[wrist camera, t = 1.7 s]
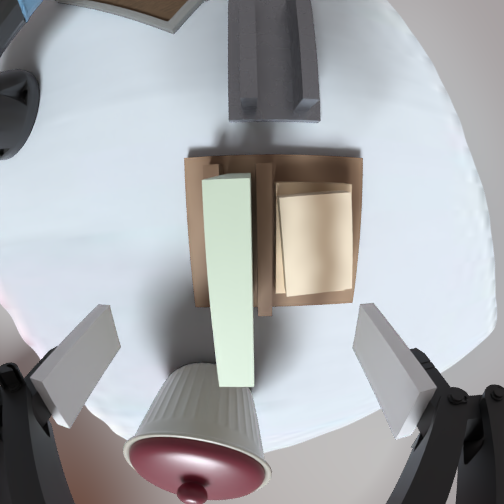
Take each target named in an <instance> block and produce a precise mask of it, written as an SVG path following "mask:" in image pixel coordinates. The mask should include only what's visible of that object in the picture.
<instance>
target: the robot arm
mask: <svg viewBox="0 0 504 504" xmlns="http://www.w3.org/2000/svg"><path fill="white" fill-rule="evenodd" d="M42 1H43V0H0V57H1V55H2V54H3V52H4V51H5V49H6V48H7V46H8V45H9V44H10V42H11V41H12V40H13V38H14V37H15V36H16V34H17V33H18V32H19V30H20V29H21V28H22V26H23V25H24V24H25V23H27V22H28V20H29V18H30V16H31V15H32V14H33V12H34V11H35V10H36V8H37V7H38V6H39V5H40V4H41V3H42ZM38 103H39V87H38V82H37V80H36V78H35V76H34V75H33V74H32V73H30V72H28V71H24V70H20V69H15V70H9V71H4V72H0V160H6V159H9V158H11V157H13V156H14V155H15V154H16V153H17V152H18V151H19V150H20V149H21V148H22V146H23V145H24V143H25V142H26V140H27V138H28V136H29V134H30V132H31V130H32V127H33V124H34V121H35V118H36V114H37V110H38ZM120 348H121V345H120V342H119V339H118V335H117V331H116V328H115V324H114V320H113V316H112V312H111V308H110V305H100V304H98V305H97V306H96V307H95V308H94V309H93V310H92V311H91V312H90V313H89V314H88V315H87V316H86V317H85V318H84V319H83V320H82V321H81V322H80V323H79V324H78V326H77V327H76V328H75V329H74V330H73V331H72V332H71V333H70V334H69V335H68V336H67V337H66V338H65V339H64V340H63V341H62V342H61V343H60V344H59V345H58V346H56V347H55V348H53V349H51V350H50V351H48V353H47V354H46V355H45V356H44V357H43V358H42V359H41V360H40V361H39V363H38V364H37V365H36V366H35V367H34V368H33V369H32V370H31V371H30V372H29V374H28V375H27V376H26V377H25V378H23V376H22V374H21V372H20V370H19V368H18V366H17V365H16V364H15V363H6V364H3V365H1V366H0V385H1V386H0V504H75V503H74V500H73V498H72V495H71V493H70V490H69V487H68V484H67V481H66V478H65V475H64V472H63V469H62V465H61V462H60V459H59V455H58V451H57V447H56V443H55V439H54V435H53V430H52V426H51V423H50V421H49V418H50V417H51V415H52V416H53V418H54V419H55V421H56V423H57V424H59V425H62V426H64V427H67V428H71V426H72V424H73V422H74V421H75V419H76V417H77V416H78V414H79V412H80V410H81V409H82V407H83V406H84V404H85V402H86V401H87V399H88V397H89V396H90V394H91V393H92V391H93V389H94V388H95V386H96V385H97V383H98V381H99V380H100V378H101V377H102V375H103V374H104V372H105V370H106V369H107V367H108V366H109V364H110V363H111V361H112V360H113V358H114V357H115V355H116V354H117V352H118V351H119V349H120ZM352 348H353V350H354V352H355V354H356V356H357V358H358V360H359V362H360V364H361V366H362V368H363V370H364V373H365V375H366V377H367V379H368V381H369V383H370V385H371V387H372V389H373V391H374V394H375V396H376V398H377V400H378V402H379V404H380V407H381V409H382V411H383V413H384V415H385V417H386V420H387V422H388V424H389V427H390V429H391V431H392V433H393V436H394V438H395V440H396V439H399V438H403V437H406V436H409V435H412V433H413V431H414V430H415V428H416V426H417V427H418V429H419V431H420V434H419V435H418V437H417V438H416V440H415V441H414V443H413V444H412V446H411V448H413V449H412V452H411V454H410V456H409V459H408V461H407V463H406V465H405V468H404V470H403V472H402V474H401V476H400V478H399V480H398V482H397V484H396V486H395V488H394V490H393V492H392V494H391V496H390V497H389V499H388V501H387V503H386V504H445V503H446V501H447V498H448V495H449V493H450V489H451V487H452V483H453V480H454V477H455V474H456V470H457V467H458V478H457V494H456V504H504V388H503V387H501V386H499V385H490V386H488V387H487V388H486V389H485V391H484V393H483V395H476V396H475V395H474V396H469V395H468V394H467V393H466V392H465V391H464V390H462V389H460V388H456V387H450V386H449V385H448V383H447V382H446V381H445V379H444V378H443V377H442V376H441V374H440V373H439V371H438V370H437V369H436V368H435V366H434V365H433V363H432V362H430V360H429V358H428V357H427V356H426V355H425V353H423V352H422V351H420V350H418V349H417V348H414V349H409V348H408V347H407V345H406V344H405V343H404V341H403V340H402V339H401V337H400V336H399V335H398V334H397V332H396V331H395V330H394V328H393V327H392V326H391V325H390V323H389V322H388V321H387V319H386V318H385V317H384V316H383V314H382V313H381V312H380V311H379V309H378V308H377V307H376V306H375V304H374V303H368V304H360V308H359V314H358V320H357V326H356V332H355V337H354V342H353V347H352Z"/></svg>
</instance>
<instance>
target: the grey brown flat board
mask: <svg viewBox="0 0 504 504" xmlns="http://www.w3.org/2000/svg"><path fill="white" fill-rule="evenodd" d="M55 1H56V2H58V3H64V4H70V5H76V6H81V7H86V8H90V9H95V10H99V11H103V12H107V13H111V14H115V15H118V16H122V17H125V18H129V19H132V20H135V21H138V22H141V23H144V24H147V25H150V26H153V27H156V28H158V29H161V30H164V31H166V32H169V33H172V34H174V33H175V32H176V31H177V30H178V29H179V28H180V27H181V26H182V25H183V23H184V22H185V21H186V20H187V19H188V18H189V17H190V16H191V15H192V14H193V12H194V11H195V10H196V9H197V8H198V7H199V6H200V5H201V4H202V3H203V2H204V1H208V0H55Z"/></svg>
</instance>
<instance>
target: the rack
mask: <svg viewBox="0 0 504 504" xmlns="http://www.w3.org/2000/svg"><path fill="white" fill-rule="evenodd" d="M184 165H185V189H186V207H187V222H188V236H189V248H190V260H191V270H192V280H193V290H194V298H195V307H210V298H209V287H208V275H207V262H206V248H205V233H204V216H203V196H202V180H204V179H208V178H212V177H215V176H219V175H224V174H228V173H251V206H252V256H253V307H258V316H272V307H276V306H303V305H323V304H340V303H352V302H353V295H354V288H355V279H356V271H357V261H358V251H359V239H360V225H361V208H362V177H363V158H354V157H340V156H321V155H281V154H265V155H225V156H206V157H191V158H184ZM274 182H332V183H347V184H352V198H351V200H352V233H353V264H352V289H345V291H330V292H322V293H315V294H306V295H298V296H289V297H287V296H286V293H276V292H275V287H274Z"/></svg>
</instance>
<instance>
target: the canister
mask: <svg viewBox="0 0 504 504" xmlns="http://www.w3.org/2000/svg"><path fill="white" fill-rule="evenodd" d="M123 454H124V457H125V459H126V460H127V462H128V463H129V464H130V466H131V467H132V468H133V469H134V470H135V471H137V472H138V473H139V474H140V475H141V476H142V477H143V478H144V479H146V480H147V481H149V482H150V483H152V484H154V485H155V486H157V487H160V488H161V489H164V490H166V491H169V492H172V493H174V494H177V496H178V498H179V499H180V500H181V501H182V502H184V503H186V504H203V503H205V502H206V500H226V499H233V498H238V497H242V496H245V495H248V494H250V493H252V492H255V491H257V490H259V489H261V488H262V487H264V486H265V485H266V484H267V483H268V482H269V481H270V479H271V476H272V471H271V468H270V466H269V465H268V463H267V462H266V461H265V460H264V453H263V448H262V442H261V436H260V430H259V425H258V419H257V414H256V409H255V404H254V400H253V396H252V393H251V390H250V389H249V387H219V380H218V373H217V365H216V364H210V363H202V362H201V363H193V364H188V365H186V366H182V367H181V368H179V369H177V370H175V371H174V372H173V373H172V374H171V375H170V376H169V377H168V378H167V380H166V381H165V382H164V384H163V386H162V387H161V389H160V391H159V392H158V394H157V396H156V397H155V399H154V401H153V403H152V404H151V406H150V408H149V410H148V412H147V414H146V415H145V417H144V419H143V421H142V423H141V425H140V426H139V428H138V430H137V432H136V434H135V436H133V437H131V438H130V439H129V440H127V441H126V443H125V444H124V447H123Z"/></svg>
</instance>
